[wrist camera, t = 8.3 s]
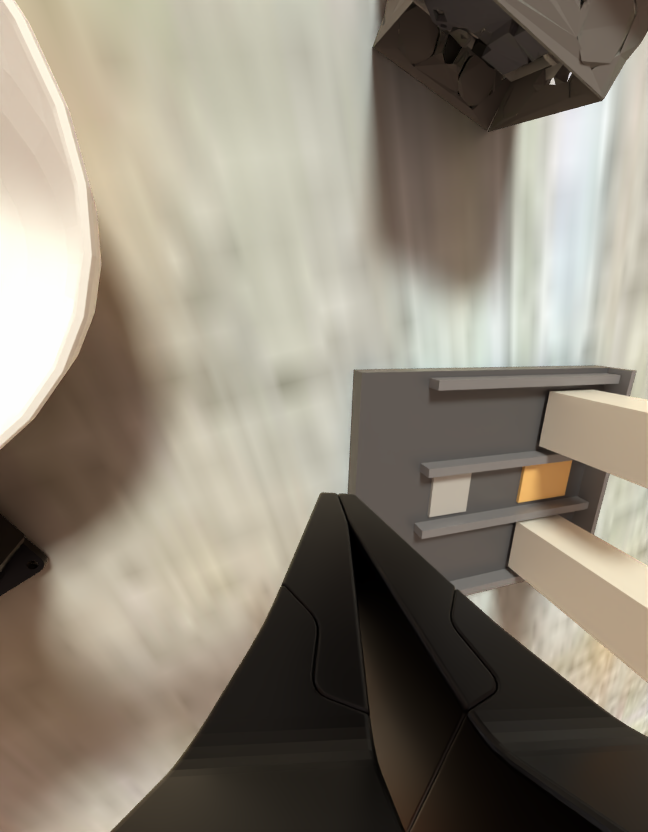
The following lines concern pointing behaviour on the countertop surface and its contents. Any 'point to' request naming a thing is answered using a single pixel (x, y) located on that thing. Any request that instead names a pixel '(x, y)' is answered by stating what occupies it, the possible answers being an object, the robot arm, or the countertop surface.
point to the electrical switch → (514, 52)
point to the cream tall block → (587, 584)
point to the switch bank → (470, 460)
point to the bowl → (39, 230)
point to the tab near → (599, 431)
